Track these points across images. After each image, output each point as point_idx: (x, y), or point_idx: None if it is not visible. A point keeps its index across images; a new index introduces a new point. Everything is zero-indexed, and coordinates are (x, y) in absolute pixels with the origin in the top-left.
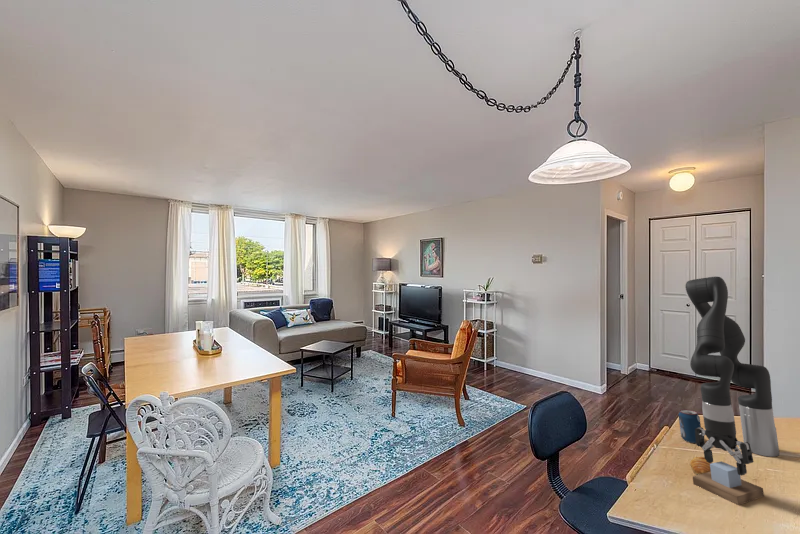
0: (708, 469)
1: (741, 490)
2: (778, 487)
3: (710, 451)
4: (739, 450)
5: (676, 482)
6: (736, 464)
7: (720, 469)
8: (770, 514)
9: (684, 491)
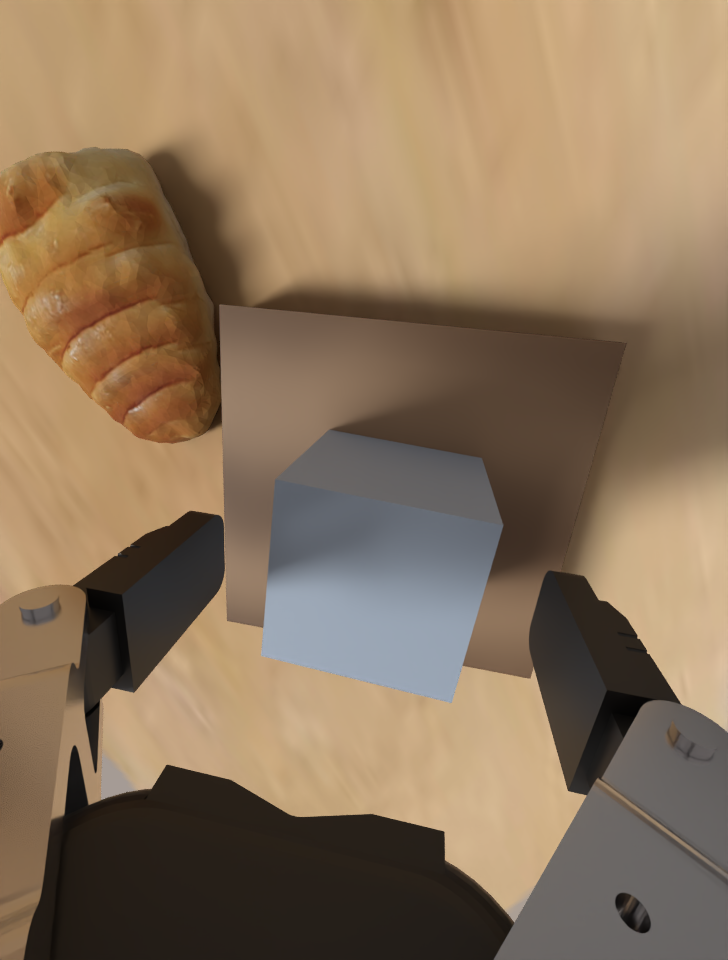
0: (186, 370)
1: (516, 559)
2: None
3: (132, 620)
4: (726, 943)
5: (200, 644)
6: (560, 759)
7: (375, 674)
8: (690, 595)
9: (283, 706)
